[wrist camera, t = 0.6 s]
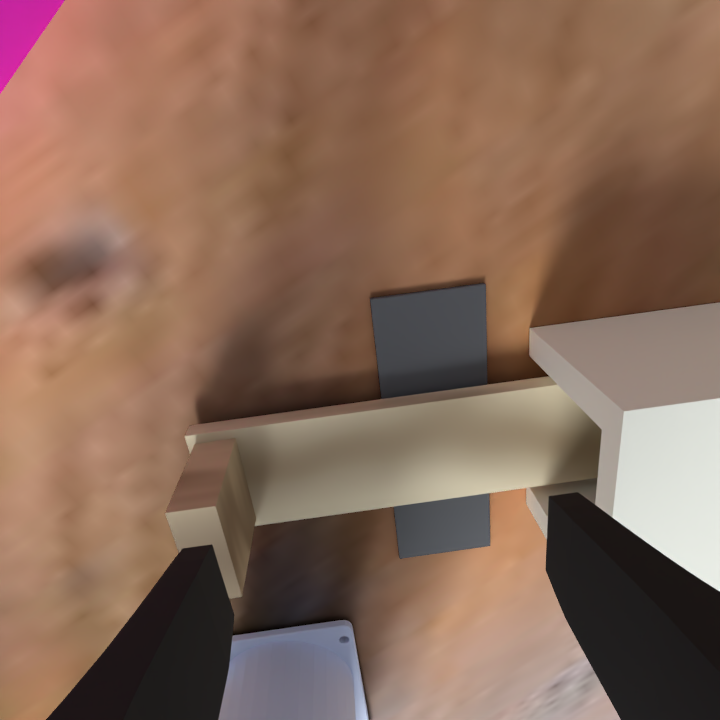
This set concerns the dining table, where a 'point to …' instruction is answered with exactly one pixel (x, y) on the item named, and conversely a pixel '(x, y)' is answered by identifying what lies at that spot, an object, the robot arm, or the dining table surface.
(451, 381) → the dark grey panel
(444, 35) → the dining table surface
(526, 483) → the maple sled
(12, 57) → the toy block
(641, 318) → the cream tunnel
